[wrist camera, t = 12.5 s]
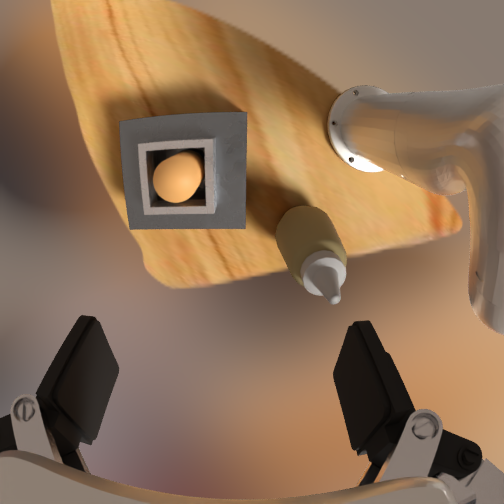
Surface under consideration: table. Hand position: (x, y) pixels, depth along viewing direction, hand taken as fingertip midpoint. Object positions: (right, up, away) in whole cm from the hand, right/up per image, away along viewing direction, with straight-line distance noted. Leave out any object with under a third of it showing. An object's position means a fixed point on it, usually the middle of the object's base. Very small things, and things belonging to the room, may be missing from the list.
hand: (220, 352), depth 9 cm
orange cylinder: (-6, +14, +23) cm, 28 cm away
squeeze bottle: (+8, +8, +31) cm, 33 cm away
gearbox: (-7, +16, +26) cm, 31 cm away
